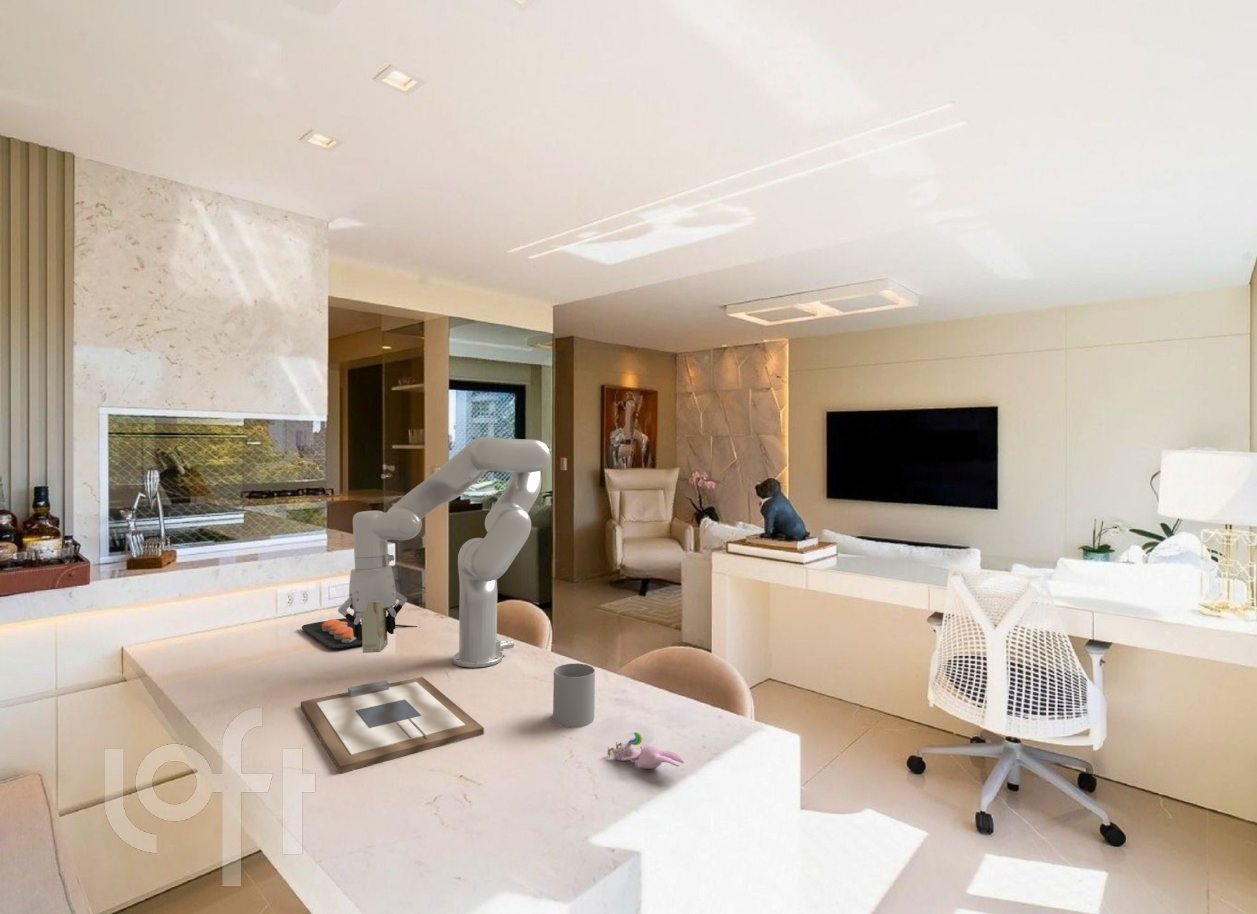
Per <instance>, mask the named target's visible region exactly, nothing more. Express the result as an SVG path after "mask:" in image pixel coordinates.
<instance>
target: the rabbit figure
mask: <svg viewBox="0 0 1257 914" xmlns="http://www.w3.org/2000/svg"><path fill="white" fill-rule="evenodd" d="M633 734H634V736H635V737H634V738H633V737H632V738H631V739H630V740H628V742H626V743H624V744H623V742H620V743H617V742H615V743H616V745H615V748H614V747H613V746H612V747H609V746H607V756H608V758H611V757H610V756H611V755H612V754H613V757H614V759H615V760H617V761H618V762H623V761H632V762H635V761H638V762H637V763H638V766H639V767H640V768H641V769H645V770H646V769H650V770H652V769H656V768H658V767H659V766H660V765H662V763H667V764H670V765H673V766H675V767H680V764H684V762H685V761H684V758H683V757H682V756H681V754H679V753H678V752H676V751H674V750H663V749H662V748H660V747H659V746H657V745H655V744H653V745H652V744H649V745H646V746H644V745H640V750H636V749H635V747H634V746H637V745H639V744H641V743H642V741H643V736H642V735H641V734H640V733H639V732H636V731H635V732H633ZM611 751H612V754H611ZM678 762H679V763H680V764H678Z"/></svg>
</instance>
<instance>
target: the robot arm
mask: <svg viewBox="0 0 1257 914" xmlns="http://www.w3.org/2000/svg"><path fill="white" fill-rule="evenodd" d="M550 461H551V451H550V449H549V447H548V446H547V444H546V443H545V442H544V441H541V440H538V439H527V438H526V439H523V438H522V439H519V438H503V437H502V438H501V437H500V438H499V437H491V436H490V437H477V438H475V439H474V440H472V441H470V442H469V443H468V444H467V445H466V446H464V447H463V448H462V449H461V450H460V451H459V452H457V453H456V454H455V455H454V456H453V457H452V458H451V459H449V460H448V461H447V462H446V463H445V464H444V465H442V466H441V467H440V468H438V470H437V471H435V472H434V473H432V474H430V476H428V477H427V478H426V479H424V480H423V481H422V482H420V483H419V484H417V486H415V487H414V488H412V489H410V491H409V492H408V493H406V494H405V495H404V496H403V497H401V498H400V499H399V500H398V501H397V502H396V503H394V504H393V505H392V506H391V507H390V508H389V509H388V510H387V512H384V511H382V510H365V511H364V510H363V511H359V512H356V513H355V514H354V515H353V517H352V530H353V531H352V533H353V554H354V555H353V556H354V557H353V559H354V569H351V570H350V576H349V583H348V584H349V585H348V586H349V589H348V598H347V599H346V600H345V601H344V602H343V603H342V604H341V605H340V606H339V608H338V609H337V612H338V614H341V615H342V616H343V618H347V619H348V620H349V621H351V622H352V623H353V635H354V637H356V639H357V640H358V641H361V640H362V625H361V623H360V622H361V613H362V612H365V611H366V609H367V605H368V602H372V601H380V600H381V608H382V609H385V608H386V613H387V615H386V617H387V634H390V635H394V634H395V631H394V630H396V626H395V624H396V617H397V615H398V613H399V612H401V610H402V608H403V606H404V605H405V604H406V603H407V601H408V597H406V596H405V595H403V594H402V593H400V592H399V591H397V589H396V588H397V587H396V583H395V577H394V572H393V568H392V565H390V562H392V561H394V560H395V555H394V554H390V553H389V549H388V547H389V545H388V540H389V541H390V540H391V541H393V540H394V541H408V540H411V539H414V538H415V537H417V535H418V534H419V533H420V532H421V530H422V526H423V524H422V523H423V522H422V519H423V518H425V516H427V515H428V514H430V513H431V512H432V511H433V510H435V509H436V508H438V507H439V506H441V505H444V504H447V503H449V502H452V501H454V500H456V499H457V498H459V497H460V496H461V495H463V494H464V493H465V492H466V491H468V489H469V488H471V487H472V486H473V485H474V484H475V483H476V482H478V481H479V479H480V478H482V477H483V476H485V474H487V472H496V473H498V472H500V473H510V479H509V481H508V484H507V485H506V487H505V489H504V491H503V492H502V494H501V495H500V496H499V498H498V499H497V501H496V502H495V503H494V505H493V506H492V508H491V509H490V510H489V512H488V513H487V514H486V516H485V520H484V527H485V530H486V535H485V536H484V538H482V537H475V538H471V539H468V540H467V541H465V543H463V544H462V546H460V549H459V552H458V555H457V567H458V568H457V569H458V580H459V609H458V610H459V624H458V625H459V626H458V627H459V630H458V638H459V639H458V652H457V653H455V654H454V655H453V656H452V662H453V664H454V665H456V666H459V667H464V668H484V667H489V666H493V665H496V664H498V663H500V662H501V661H502V660H503V653H502V652H503V651H504V650H505V649H506V650H508V649H513V648H515V647H514V646H515V643H514V641H513V640H508V641H506V640H505V639H501V640H498V638H497V636H498V635H497V634H498V631H497V629H498V579H499V578H501V577H502V576H503V575H504V574H505V573H506V572H507V571H508V569H509V567H510V566H511V565H512V563H513V562H514V560H515V558H516V557H517V556H518V554H519V552H520V551H521V549H522V548H523V546H524V545H525V544H526V542H527V540H528V538H529V536H530V534H531V529H532V520H531V516H530V515H529V513H530V510H531V508H532V507H533V506H534V504H535V502H536V500H537V499H538V496H539V495H540V492H541V487H542V471H543V470H544V469H547V467H548V465H549V463H550ZM397 599H398V602H397ZM349 608H350V609H351V610H353V614H351V613H349V612H348V611H347V610H348V609H349Z"/></svg>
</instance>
